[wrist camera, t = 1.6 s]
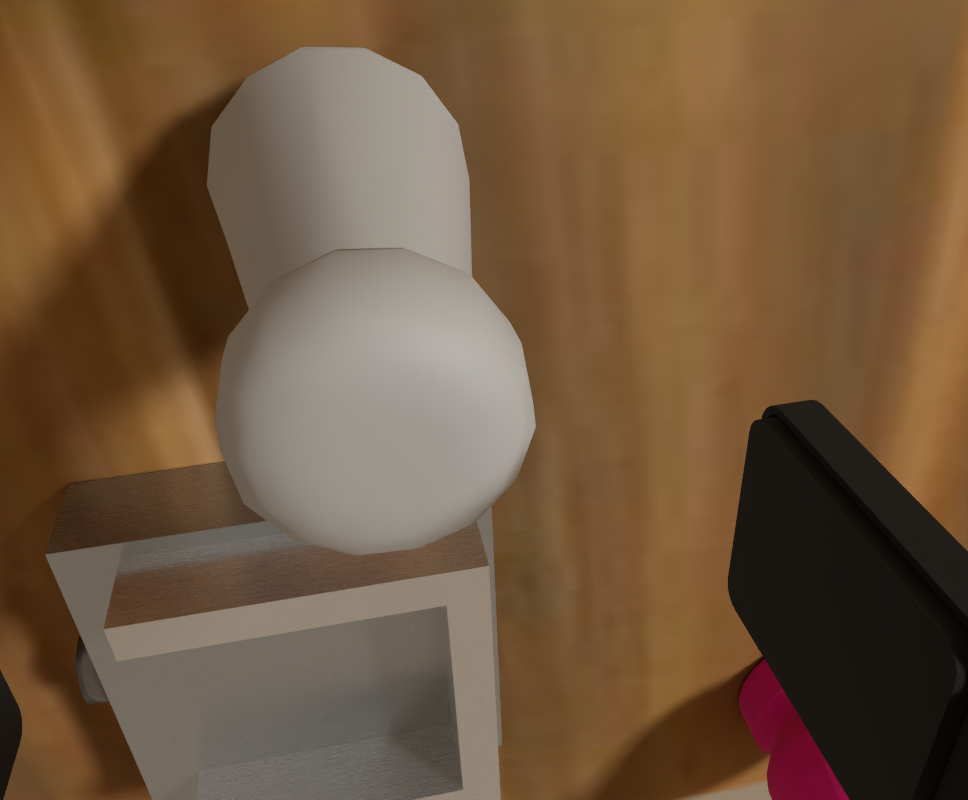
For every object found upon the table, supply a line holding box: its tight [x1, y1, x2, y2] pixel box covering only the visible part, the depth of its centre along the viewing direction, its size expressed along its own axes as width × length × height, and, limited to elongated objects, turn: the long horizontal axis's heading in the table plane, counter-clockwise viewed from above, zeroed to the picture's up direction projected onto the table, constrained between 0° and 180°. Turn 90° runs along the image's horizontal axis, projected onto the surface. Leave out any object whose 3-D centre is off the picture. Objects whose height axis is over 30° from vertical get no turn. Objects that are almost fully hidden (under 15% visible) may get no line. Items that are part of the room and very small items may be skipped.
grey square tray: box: [45, 462, 502, 800], centre depth 27 cm, size 12×13×6 cm
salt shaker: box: [207, 47, 536, 556], centre depth 16 cm, size 6×6×13 cm
